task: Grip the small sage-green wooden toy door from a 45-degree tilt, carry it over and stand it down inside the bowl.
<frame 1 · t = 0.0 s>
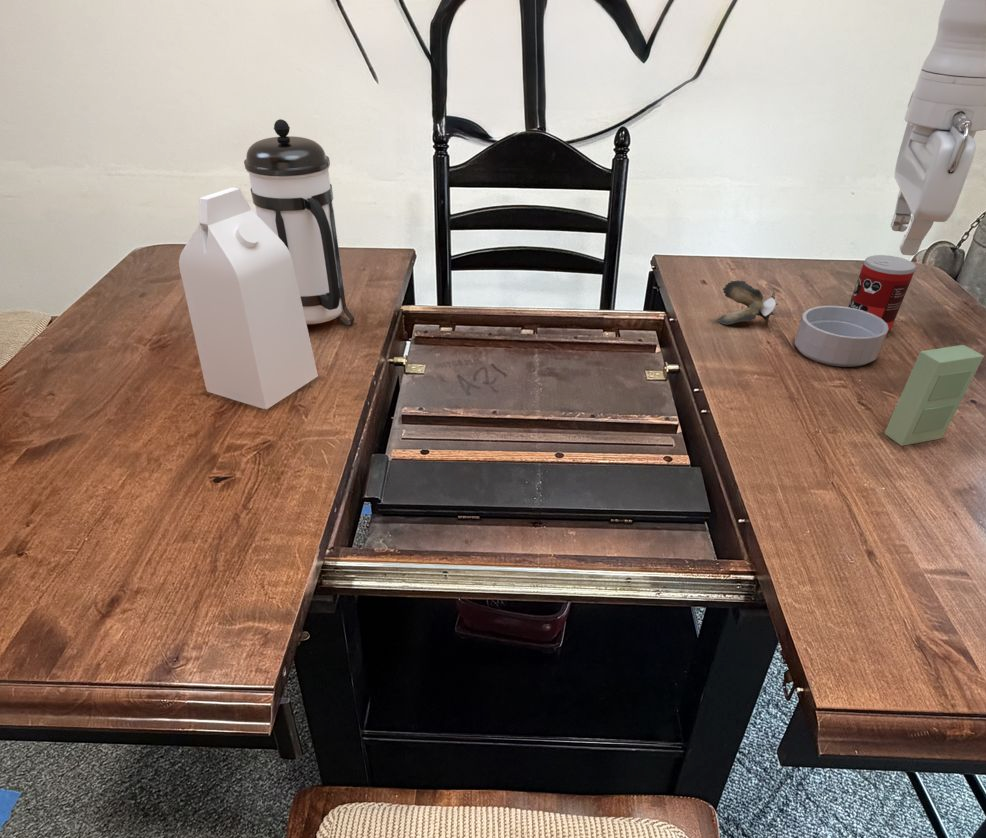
hand: (902, 241, 87), 24 cm above the table, tool pointing down, fingers open, 8 cm apart
eagle figurine: (743, 322, 128), on the table
coffee press: (318, 324, 125), on the table
bowl: (834, 350, 119), on the table
milk: (263, 385, 108), on the table
canned food: (865, 328, 126), on the table
toy door: (913, 436, 99), on the table
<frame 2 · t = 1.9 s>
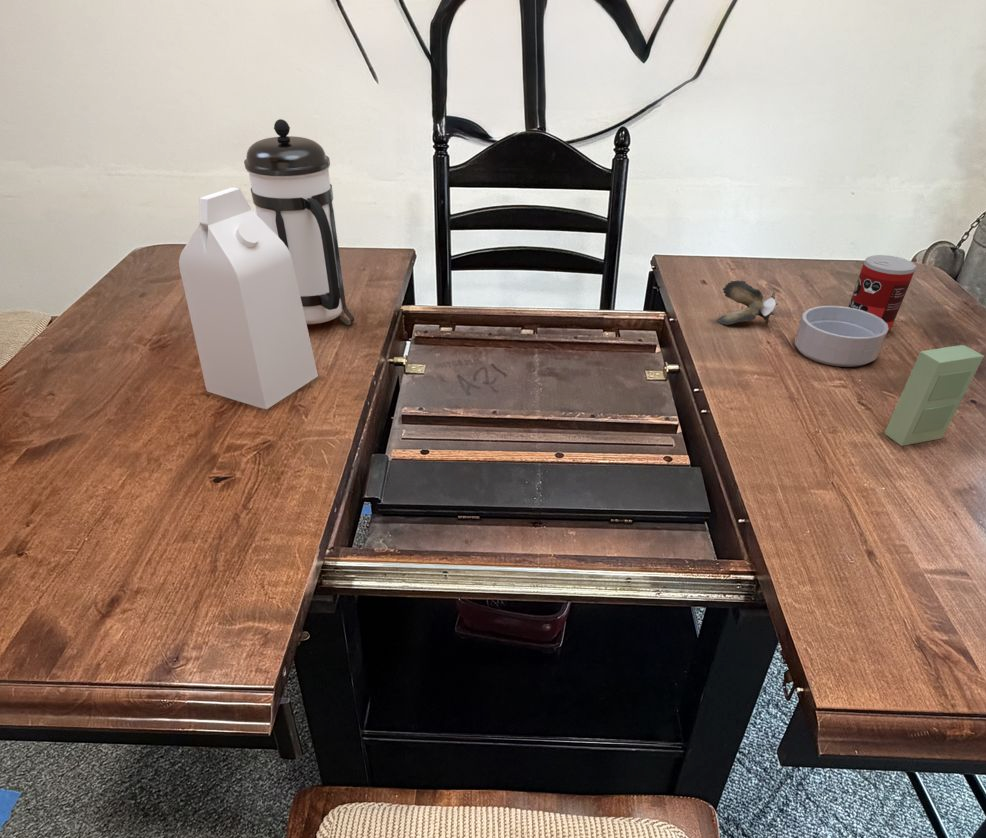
nothing on the table moved.
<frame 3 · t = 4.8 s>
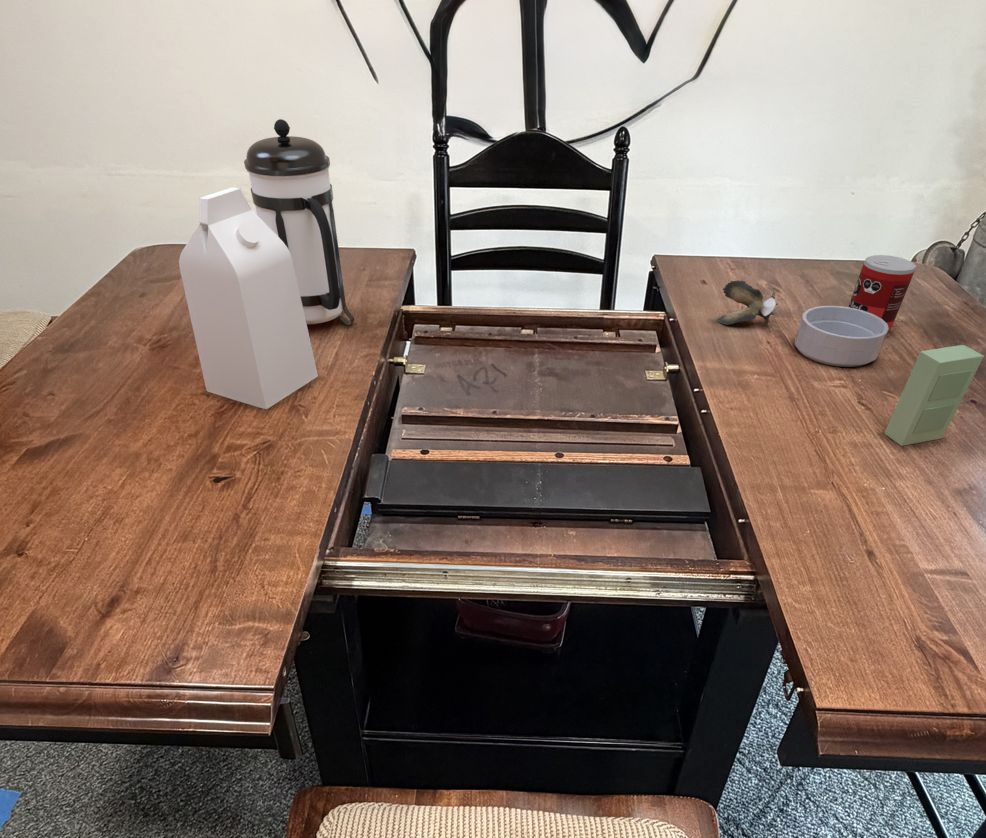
nothing on the table moved.
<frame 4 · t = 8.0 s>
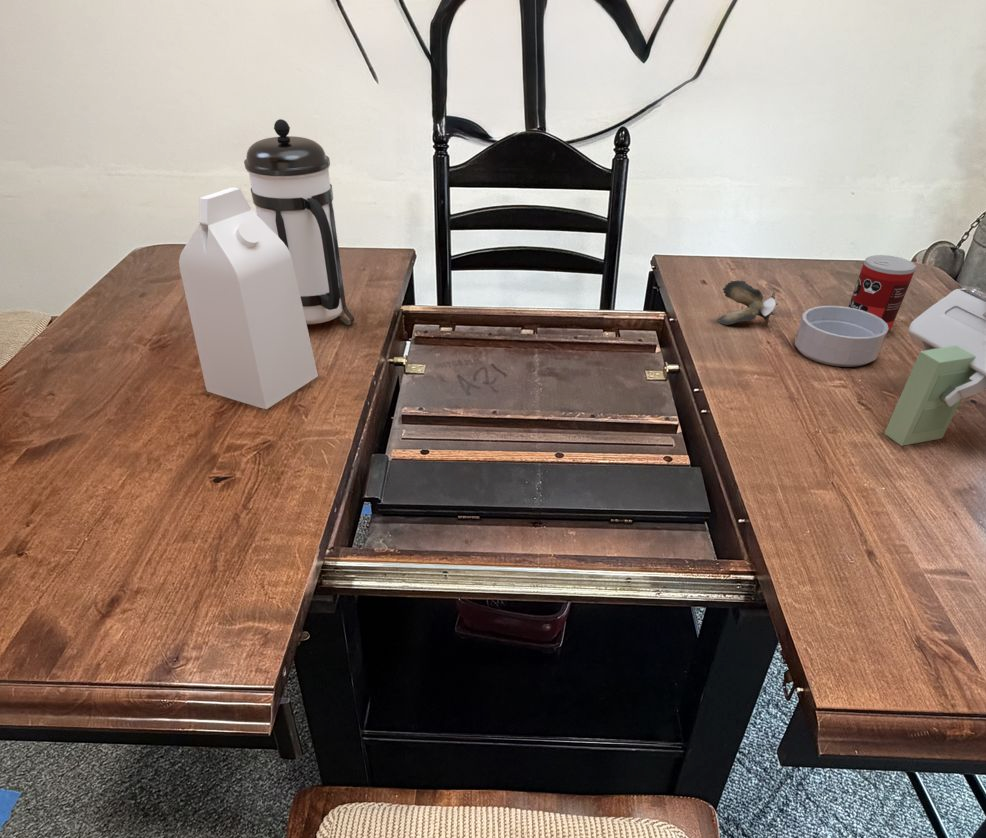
hand: (929, 393, 94), 7 cm above the table, tool tilted 45°, fingers closed on toy door, 4 cm apart
toy door: (912, 436, 99), on the table, touching gripper
everything else where it was.
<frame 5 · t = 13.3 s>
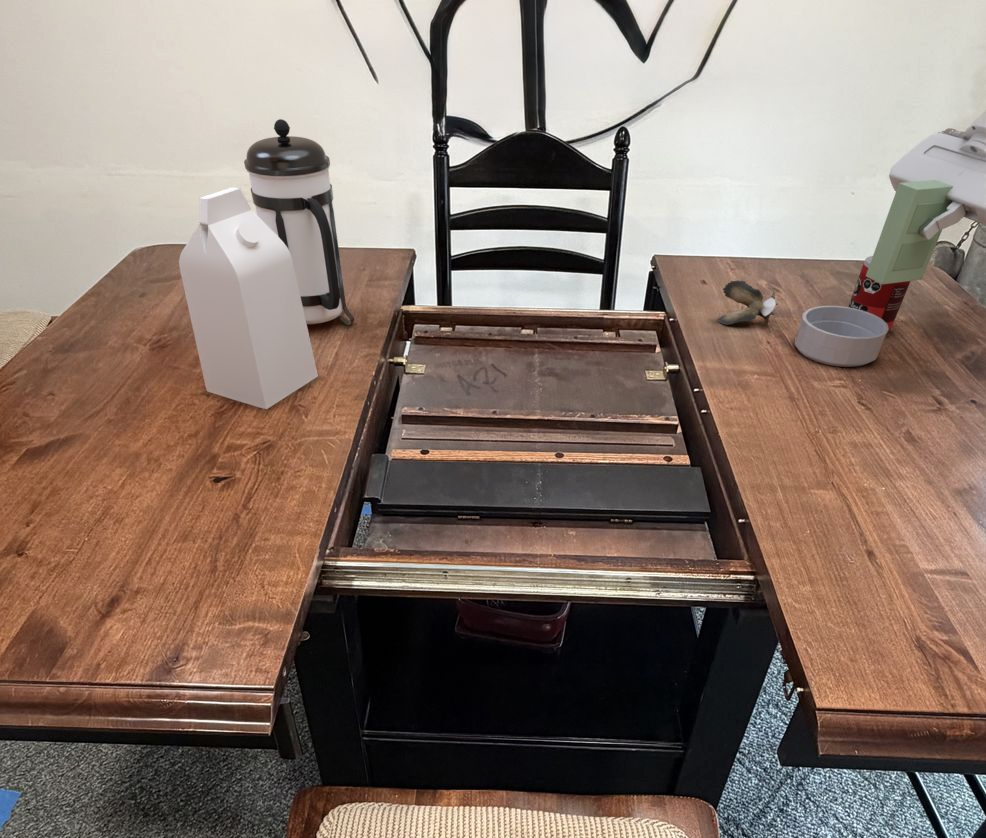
hand: (909, 229, 98), 21 cm above the table, tool tilted 45°, fingers closed on toy door, 4 cm apart
toy door: (893, 278, 102), point 15 cm above the table, touching gripper
everything else where it was.
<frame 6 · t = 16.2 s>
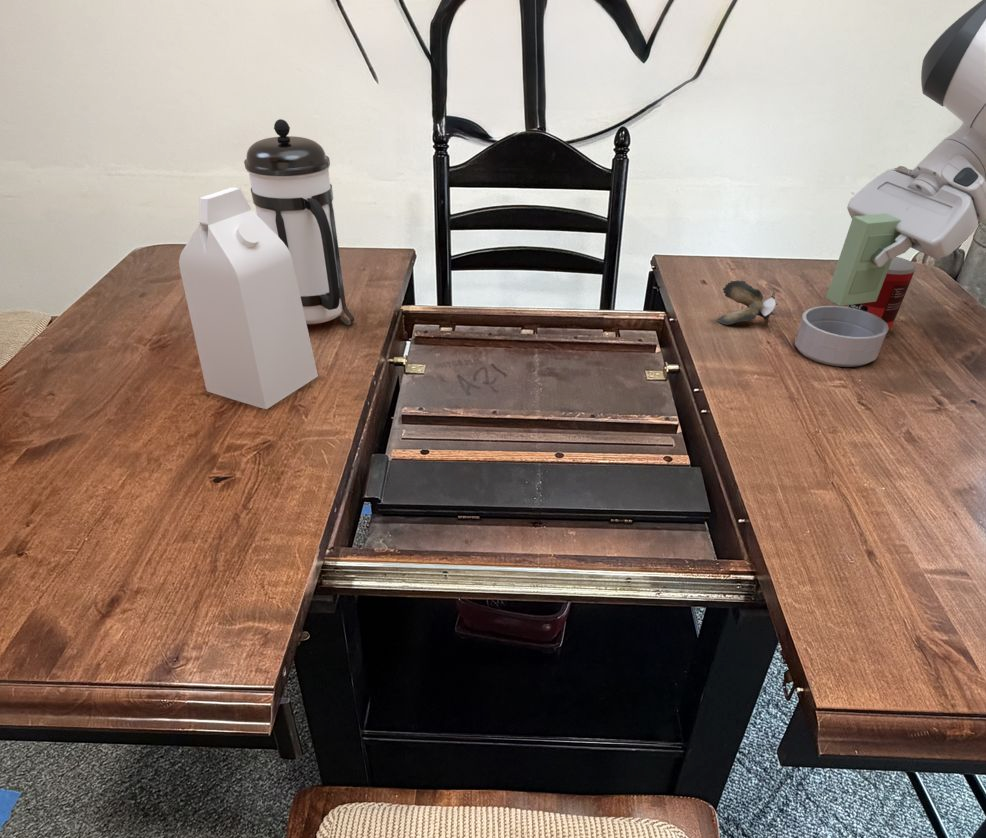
hand: (863, 257, 109), 15 cm above the table, tool tilted 45°, fingers closed on toy door, 4 cm apart
toy door: (850, 299, 113), point 8 cm above the table, touching gripper
everything else where it was.
when the fingers open (7 cm above the table, at t = 18.6 s): toy door stays where it is, resting on bowl.
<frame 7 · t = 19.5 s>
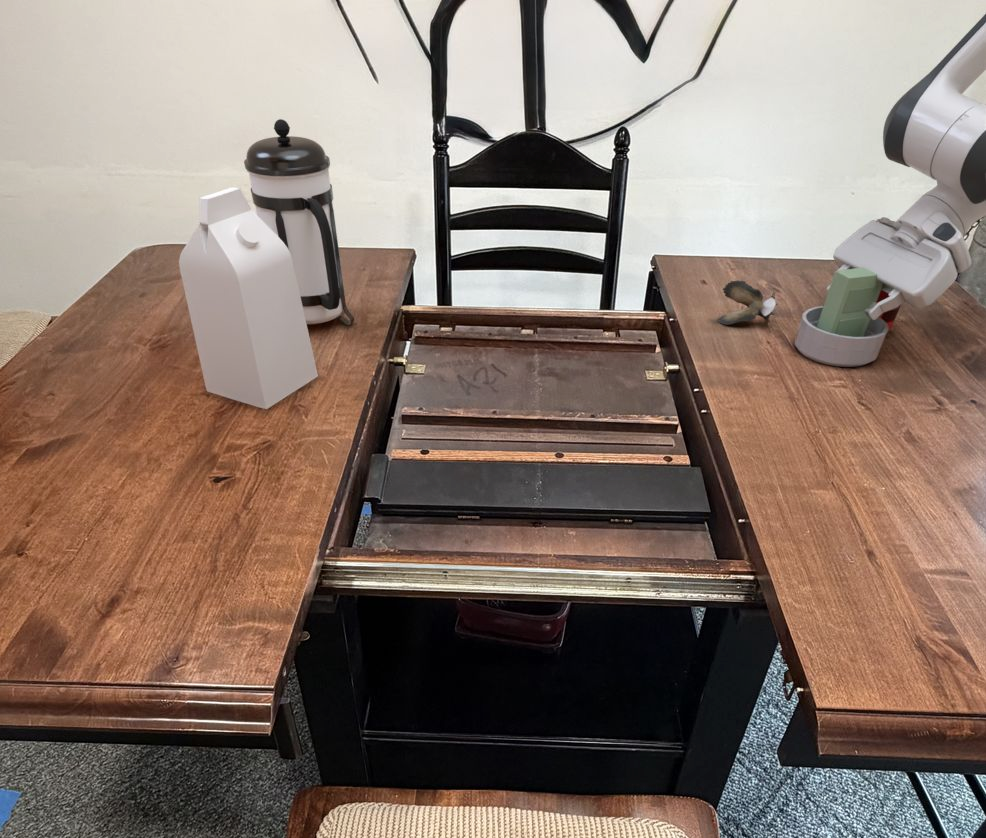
hand: (848, 304, 113), 8 cm above the table, tool tilted 45°, fingers open, 8 cm apart
toy door: (834, 346, 119), point 1 cm above the table, touching bowl
everything else where it was.
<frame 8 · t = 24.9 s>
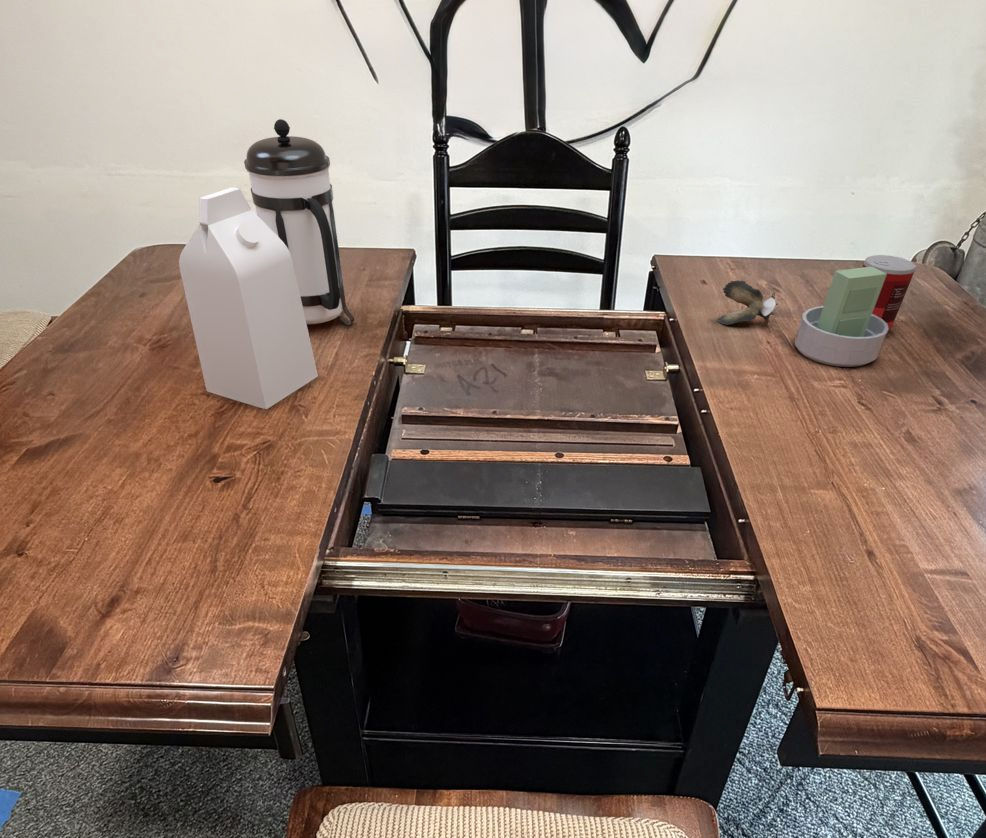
nothing on the table moved.
at the end: toy door inside the target area in the bowl (0.2 cm from its centre), point 0.6 cm above the bowl's base; the gripper is holding nothing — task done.
